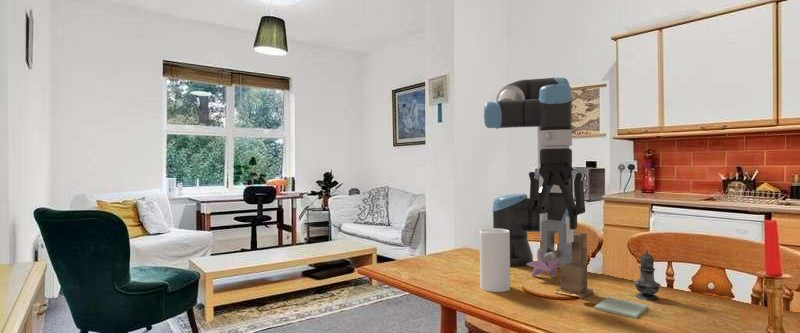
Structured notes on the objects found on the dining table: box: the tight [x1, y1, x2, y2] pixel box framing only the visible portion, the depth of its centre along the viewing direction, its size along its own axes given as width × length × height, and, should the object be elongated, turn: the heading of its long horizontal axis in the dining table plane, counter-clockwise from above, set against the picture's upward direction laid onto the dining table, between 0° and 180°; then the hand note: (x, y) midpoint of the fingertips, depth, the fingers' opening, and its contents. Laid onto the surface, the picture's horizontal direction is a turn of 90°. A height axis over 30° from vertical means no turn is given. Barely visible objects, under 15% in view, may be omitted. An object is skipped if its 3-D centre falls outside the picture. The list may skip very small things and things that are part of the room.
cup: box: [479, 227, 511, 293], centre depth 119 cm, size 8×8×16 cm
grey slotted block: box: [540, 220, 572, 265], centre depth 106 cm, size 4×6×10 cm, turn 45°
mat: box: [593, 296, 649, 319], centre depth 101 cm, size 9×9×1 cm
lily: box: [525, 247, 561, 283], centre depth 125 cm, size 12×12×10 cm
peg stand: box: [544, 231, 594, 300], centre depth 109 cm, size 19×7×16 cm, turn 135°
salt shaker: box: [633, 250, 662, 302], centre depth 109 cm, size 6×6×12 cm
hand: (556, 240), depth 106 cm, fingers closed on grey slotted block, 6 cm apart
